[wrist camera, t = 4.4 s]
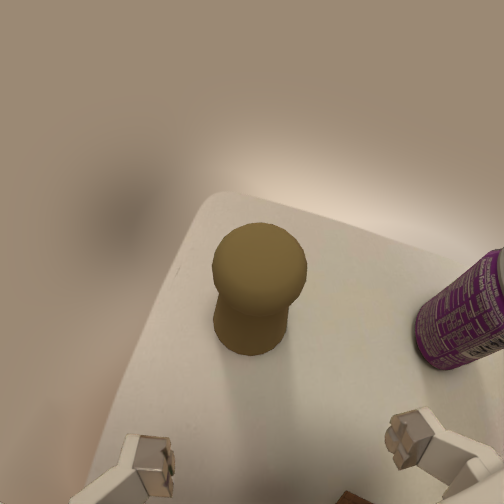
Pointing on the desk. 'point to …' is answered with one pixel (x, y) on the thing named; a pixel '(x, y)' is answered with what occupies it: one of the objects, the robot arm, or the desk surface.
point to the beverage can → (465, 316)
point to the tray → (351, 499)
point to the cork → (256, 286)
